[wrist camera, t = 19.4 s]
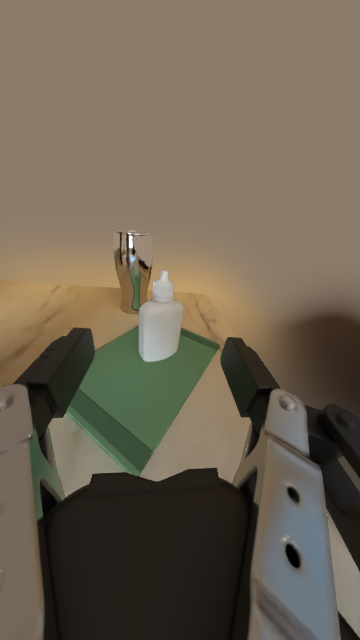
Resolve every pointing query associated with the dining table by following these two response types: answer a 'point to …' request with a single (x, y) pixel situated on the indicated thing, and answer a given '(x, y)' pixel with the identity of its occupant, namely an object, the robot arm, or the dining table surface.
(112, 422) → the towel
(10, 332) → the dining table surface
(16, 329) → the dining table surface
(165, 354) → the eye dropper bottle
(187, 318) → the dining table surface
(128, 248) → the beer glass
